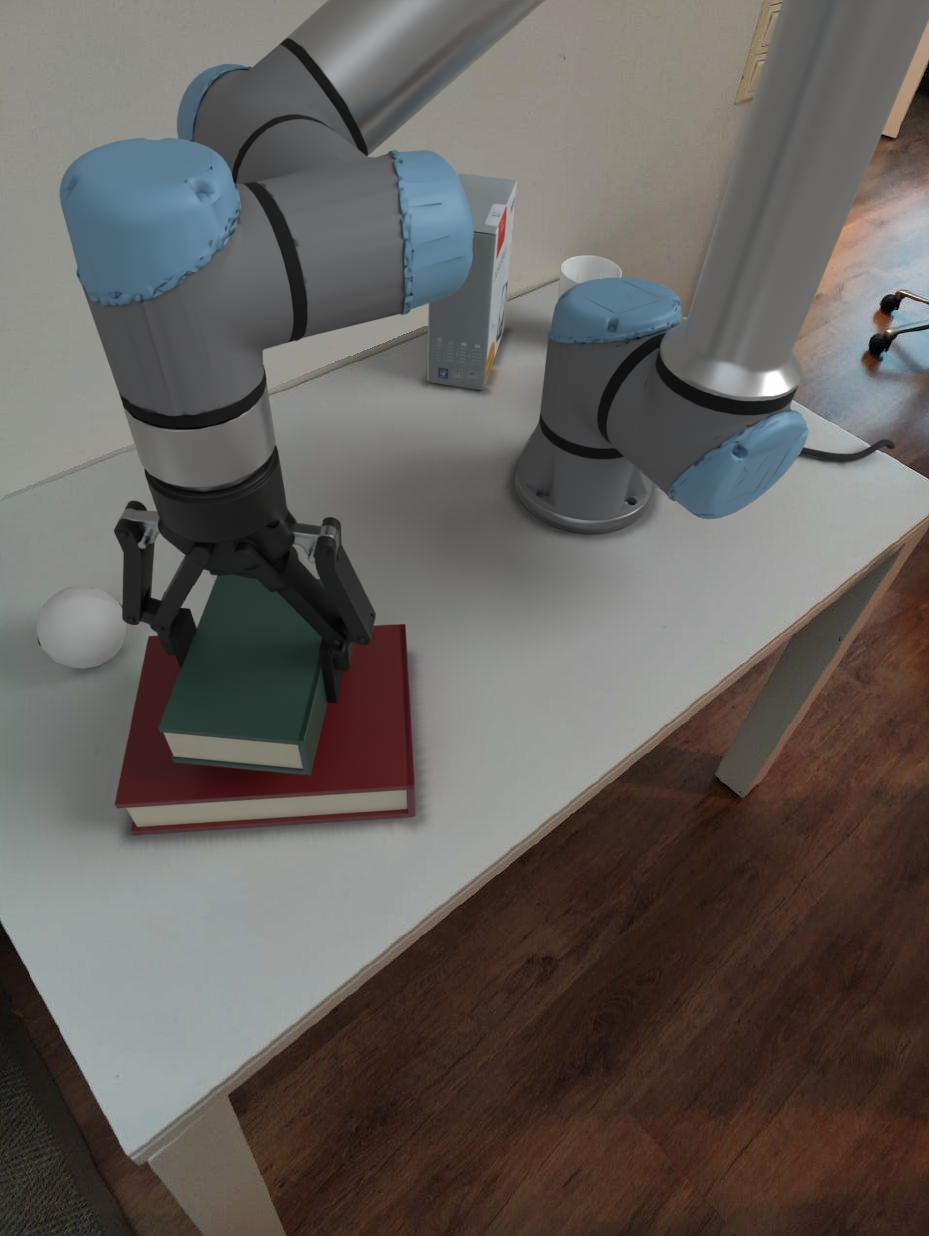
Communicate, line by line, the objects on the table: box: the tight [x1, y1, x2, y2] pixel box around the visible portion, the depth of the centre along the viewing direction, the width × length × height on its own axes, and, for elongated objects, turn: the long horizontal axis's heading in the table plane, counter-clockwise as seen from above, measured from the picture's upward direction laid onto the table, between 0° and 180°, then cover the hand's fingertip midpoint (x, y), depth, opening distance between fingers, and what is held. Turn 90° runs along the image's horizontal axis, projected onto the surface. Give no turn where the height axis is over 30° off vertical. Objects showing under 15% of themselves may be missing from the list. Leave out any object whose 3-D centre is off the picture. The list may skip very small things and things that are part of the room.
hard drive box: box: [426, 172, 518, 391], centre depth 102 cm, size 16×8×20 cm, turn 168°
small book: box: [158, 575, 328, 775], centre depth 62 cm, size 10×15×4 cm, turn 175°
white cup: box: [557, 254, 623, 300], centre depth 109 cm, size 8×8×10 cm
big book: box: [113, 623, 417, 836], centre depth 68 cm, size 22×16×5 cm
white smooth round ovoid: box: [25, 585, 128, 670], centre depth 73 cm, size 10×7×7 cm
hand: (266, 682), depth 64 cm, fingers closed on small book, 10 cm apart
